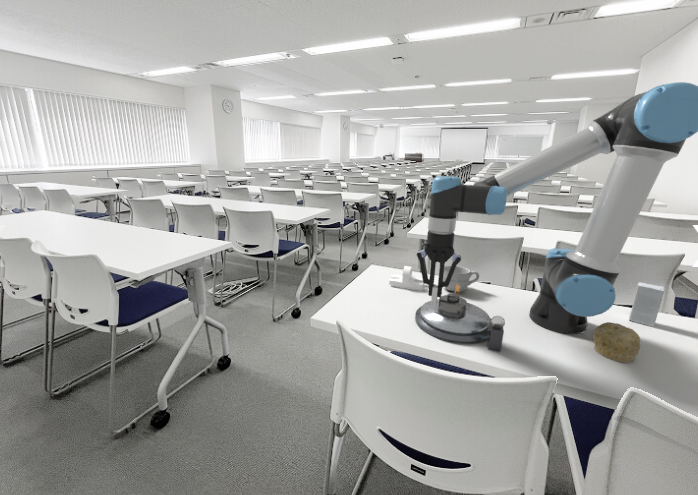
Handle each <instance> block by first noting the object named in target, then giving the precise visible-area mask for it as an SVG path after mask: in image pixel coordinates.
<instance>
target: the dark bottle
mask: <svg viewBox="0 0 698 495" xmlns="http://www.w3.org/2000/svg"><path fill="white" fill-rule="evenodd" d="M491 323H492V324H491V325H490V332H489V339H488V340H487V350H490V351H493V352H494V351H495V352H498V353H499V352H501V350H502V346H503V338H504V335H505V334H504V333H505V332H504V331H505V330H504V326H505V324H506V321H505V319H504V317H503V316H501V315H495V316H493V317H492V318H491Z"/></svg>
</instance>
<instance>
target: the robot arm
mask: <svg viewBox="0 0 698 495" xmlns="http://www.w3.org/2000/svg"><path fill="white" fill-rule="evenodd" d="M697 133H698V85H696V84H695V83H691V82H686V81H685V82H682V81H679V82H671V83H666V84H660V85H657V86H655V87H653V88H651V89H648V91H644V92H642V93H638V94H636V95H633V96H632V97H630V98H628V99H627V100H625V101H623V102H621V103H620V104H618V105H617V106H615V107H614V108H613V109H611V110H610V111H608V112H606V113H604V114H602V115H600V116H599V117H597V118H595V119H593V120H592V121H590V122H589V123H588V126H587V127H586V128H584V129H582V130H579V131H578V132H576V133H574V134H573V135H570V136H568V137H567V138H564V139H562V140H560V141H559V142H557V143H555V144H552V145H550V146H549V147H547V148H544V149H543V150H540V151H539V152H537V153H535V154H533V155H531V156H529V157H527V158H525V159H522V160H521V161H519V162H517V163H515V164H513V165H512V166H509V167H507V168H505V169H503V170H501V171H499V172H497V173H495V174H493V175H492V176H490V177H487V178H486V179H484V180H481V181H478V182H475V183H474V184H473V185H472V184H463V183H462V182H461V178H460V177H458V176H450V175H448V176H447V175H446V176H445V175H443V176H442V175H439V176H435V177H434V178H433V179H432V184H431V191H430V200H429V201H430V204H429V214H428V222H427V223H428V226H427V229H428V231H427V234H426V235H427V237H426V245H425V246H424V248H423V249H422V250H418V251H417V253H416V257H417V259H418V261H419V267H420V271H421V277H422V278H423V283H424V285H425V284H426V285H427V286H428V293H427V294H428V296H429V297H431V299H430V301H431V307H433V308H436V305H437V299H438V298H440V297H441V296H442V293H443V288H445V287H448V285H449V283H450V280H451V278H452V275H453V273H454V270H455V268H456V266H458V264H459V263H460V262H461V260H462V256H461V255H459V254H457V253H455V249H454V242H455V236H456V235H455V233H454V232H455V231H456V225H457V215H458V213H468V214H469V213H470V214H478V215H479V214H481V215H488V216H492V215H493V216H495V215H496V216H501V215H503V214H504V212H505V210H506V207H507V206H506V205H507V200H508V197H510V196H511V195H513V194H516V193H518V192H520V191H522V190H524V189H526V188H529V187H530V186H533V185H535V184H538V183H540V182H541V181H544V180H546V179H547V178H550V177H552V176H554V175H556V174H558V173H561V172H563V171H565V170H567V169H569V168H572V167H574V166H576V165H578V164H580V163H582V162H585V161H588V160H589V159H590V158H593V157H596V156H598V155H599V154H604V155H609V154H610V153H613V152H615V153H616V156H615V159H614V162H613V163H612V166H611V168H610V170H609V173H608V175H607V177H606V179H605V182H604V184H603V186H602V189H601V191H600V193H599V196H598V198H597V199H596V200H597V201H596V202H595V204H594V207H593V209H592V211H591V214H590V216H589V218H588V221H587V222H586V225H585V227H584V230H583V232H582V235H581V237H580V238H579V241H578V243H577V246H576V248H575V249H572V248H571V249H570V248H568V249H567V248H556V247H555V248H550V249H549V250H548V251H547V254H546V257H545V262H544V268H543V274H542V280H541V285H540V290H539V294H538V295H537V297H536V299H535V300H534V302H533V304H532V306H531V307H530V310H529V314H528V315H529V316H528V317H529V318H530V320H531V321H532V322H534V323H535V324H537V325H538V326H540V327H543V328H545V329H548V330H549V331H553V332H556V333H557V332H558V333H562V334H569V335H570V334H571V335H572V334H573V335H575V334H581V333H583V332H585V331H587V327H588V317H589V318H591V317H594V316H598V315H602V314H604V313H606V312H607V311H610V309H611V308H612V307H613V305H614V304H615V301H616V295H617V294H616V290H615V287H614V284H615V282H616V280H617V278H618V276H619V274H620V272H621V269H620V267H619V266H618V264H617V261H618V258H619V257H620V254H621V252H622V250H623V248H624V246H625V244H626V242H627V240H628V238H629V236H630V234H631V231H632V230H633V228H634V226H635V224H636V221H637V219H638V218H639V215H640V213H641V212H642V209H643V207H644V205H645V203H646V201H647V199H648V197H649V195H650V193H651V190H652V188H653V187H654V184H655V183H656V181H657V179H658V176H659V175H660V173H661V170H662V168H663V167H664V164H665V163H666V162H668V161H670V160H672V159H674V158H676V157H678V156H679V154H680V153H681V150H682V148H683V146H684V144H685V142H686V140H687V139H689V138H691V137H692V136H694V135H695V134H697ZM426 256H427V257H428V259H429V260H430V270H429V271H430V272H429V276H428V270H427V263H426V258H425V257H426ZM449 259H451V260H452V262H451V265H450V266H451V268H450V270H449V273H448V275H447V278H446V280H445V281H443V276H444V266H446V265H445V264H446V262H448V261H449ZM437 263H439V271H438V280H437V281H438V282H437V284H434V283H435V276H436V266H437Z"/></svg>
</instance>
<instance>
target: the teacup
mask: <svg viewBox="0 0 698 495" xmlns="http://www.w3.org/2000/svg"><path fill="white" fill-rule="evenodd" d="M450 268H451V265H445V266H444V276H443V281H445V280H446V278H447V275H448V273H449V270H450ZM472 275H476V277H475V278H474V279H472V280H470V278H471V276H472ZM479 279H480V273H479V272H478V271H476V270H472V271H471V270H470V269H469V268H467V267H464V266H459V265H456V268H455V270H454V273H453V275H452V278H451V280H450V283H449V285H448V287H444V288H445V290H447V291H451V292H455V289H456V284H459V285H460V289H459V292H462V291H464V290H465V289H467V288H468V287H469V286H470V285H471V284H474V283H475V282H477V281H479Z"/></svg>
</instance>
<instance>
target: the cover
mask: <svg viewBox="0 0 698 495" xmlns="http://www.w3.org/2000/svg"><path fill="white" fill-rule="evenodd" d="M438 298H439V307H438V312H439V314H440V315H442V316H444V317H447V318H451V319H461V318H464V317H465V315H466V307H467V303H468V301H467V300H466V299H465V298H463V297H461V296H460V294H459V295H458V294H455V292H451V293H450V292H449V293H447V294H445V295H441V297H438Z"/></svg>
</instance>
